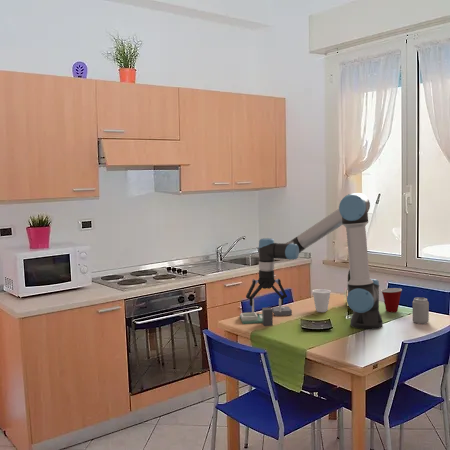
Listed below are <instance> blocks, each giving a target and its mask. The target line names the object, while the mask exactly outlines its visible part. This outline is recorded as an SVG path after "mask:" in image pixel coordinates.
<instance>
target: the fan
mask: <svg viewBox="0 0 450 450" xmlns="http://www.w3.org/2000/svg"><path fill="white" fill-rule="evenodd" d="M271 308H272V315H273V316H275V317H278V316H280V317H281V316H282V315H283V316H293V310H292V309H291V308H290V306H287V305H285V306H281V312H279V306H273V307H271Z"/></svg>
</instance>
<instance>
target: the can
mask: <svg viewBox="0 0 450 450" xmlns="http://www.w3.org/2000/svg"><path fill="white" fill-rule="evenodd" d="M429 305H430V303H429V301H428V298H425V297H414V298H413V301H412V321H413V323H414V324H418V325H426V324H428V323H429V320H430V319H429V318H430V316H429V315H430V313H429V312H430V311H429V307H430V306H429Z"/></svg>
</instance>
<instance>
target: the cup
mask: <svg viewBox="0 0 450 450" xmlns="http://www.w3.org/2000/svg"><path fill="white" fill-rule="evenodd" d="M331 291H332V290H329V289H324V288H318V289H312V291H311V292H312V295H313V300H314V305H315V306H314V307H315V311H316V312H317V313H326V311H328V309H329V304H330V297H331Z"/></svg>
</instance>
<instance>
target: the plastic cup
mask: <svg viewBox="0 0 450 450" xmlns="http://www.w3.org/2000/svg"><path fill="white" fill-rule="evenodd" d="M402 291H403V289H402V288H400V287H399V288H397V287H390V288H389V287H388V288H382V289H380V292H381V293H382V294H381V295H382V297H383V303H384V307H385V312H387V313H397V312H398V310H399V306H400V300H401V295H402Z"/></svg>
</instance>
